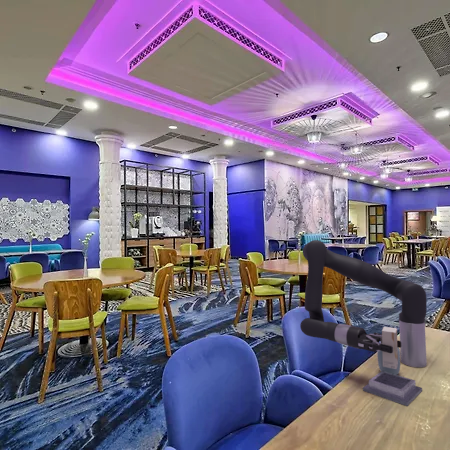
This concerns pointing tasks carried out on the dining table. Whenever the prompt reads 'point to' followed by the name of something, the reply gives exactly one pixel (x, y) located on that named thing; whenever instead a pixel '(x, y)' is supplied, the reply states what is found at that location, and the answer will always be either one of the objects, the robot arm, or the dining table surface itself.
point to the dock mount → (393, 388)
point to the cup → (386, 369)
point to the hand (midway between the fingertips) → (396, 347)
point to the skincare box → (390, 339)
